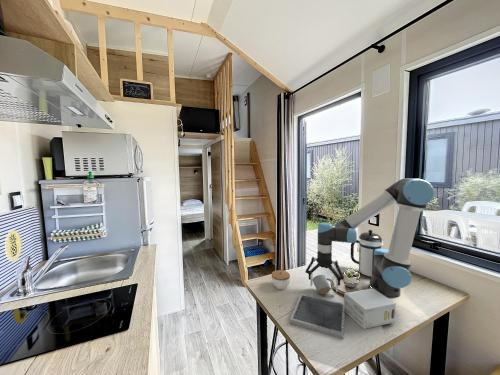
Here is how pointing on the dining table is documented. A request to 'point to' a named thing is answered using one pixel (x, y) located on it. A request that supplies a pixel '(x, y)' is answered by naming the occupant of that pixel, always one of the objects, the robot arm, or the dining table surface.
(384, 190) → the robot arm
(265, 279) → the dining table surface
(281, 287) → the lidded jar
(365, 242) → the coffee press
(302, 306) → the square tray
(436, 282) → the dining table surface
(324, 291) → the ceramic mug
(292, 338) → the dining table surface
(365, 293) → the supplement box
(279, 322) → the dining table surface
